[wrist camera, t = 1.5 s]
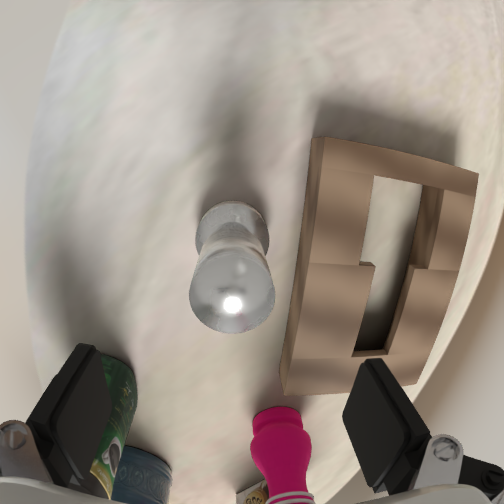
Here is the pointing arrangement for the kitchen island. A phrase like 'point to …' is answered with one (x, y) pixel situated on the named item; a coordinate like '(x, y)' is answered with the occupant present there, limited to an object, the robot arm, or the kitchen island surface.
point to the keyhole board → (369, 266)
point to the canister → (141, 478)
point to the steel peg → (232, 269)
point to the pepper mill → (282, 455)
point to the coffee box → (254, 494)
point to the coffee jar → (112, 429)
